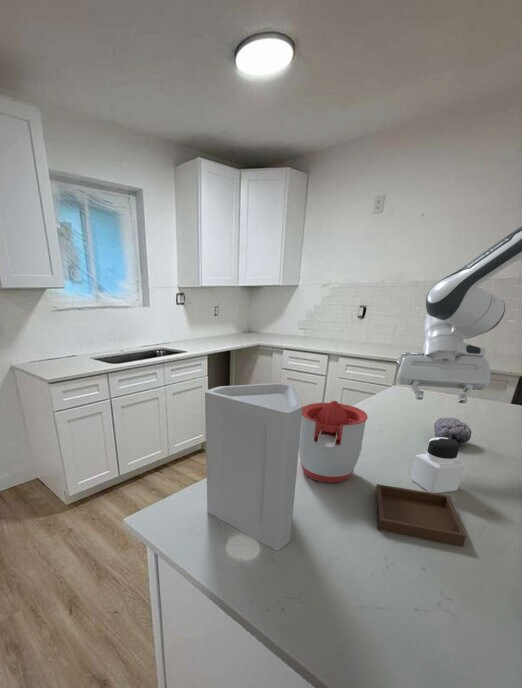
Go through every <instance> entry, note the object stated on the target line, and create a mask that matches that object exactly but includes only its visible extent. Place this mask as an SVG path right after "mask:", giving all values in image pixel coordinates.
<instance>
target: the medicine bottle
mask: <svg viewBox="0 0 522 688" xmlns="http://www.w3.org/2000/svg"><path fill="white" fill-rule="evenodd" d="M460 445H461V444H458V443H457V442H456V441H454V440H452V439H449V438H444V437H436V438H435V437H431V439H429V440H428V444H427V448H426V453H417V454H416V455H415V459H414V463H413V468H412V472H411V476H410V480H411V481H413V482H414V483H415V484H417V485H418V486H420V487H421V488H423V489H424V490H425V491H426V492H430V493H436V494H442V493H448V492H449V493H451V492H455V491H458V490H459V486H460V483H461V480H462V478H463V477H462V476H463V474H464V469H465V463H463V462H462V461H459V460H457V458H458V454H459V451H460V448H461V446H460Z"/></svg>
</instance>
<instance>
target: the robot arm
mask: <svg viewBox="0 0 522 688" xmlns="http://www.w3.org/2000/svg"><path fill="white" fill-rule="evenodd" d="M521 260H522V225H521V226H519V227H518V228H516V229H515V230H513V231H512V232H511V233H509V234H507V235H506V236H505V237H503V238H502V239H501V240H499V241H497V242H496V243H495V244H493V245H492V246H491V247H488V249H486V250H485V251H484V252H482V253H481V254H479V255H478V256H476V257H475V258H474V259H472V260H471V261H470V262H468V263H467V264H466V265H464V266H463V267H461V268H459V269H458V270H456V271H454V272H453V273H450V274H448V275H447V276H445V277H443V278H442V279H440V280H439V281H437V282H435V284H433V286H431V288H430V289H429V290H428V292H427V294H426V297H425V309H426V316H425V320H424V329H423V335H424V342H423V345H422V353H421V352H404V353H402V354H400V355H398V357H397V365H398V367H399V368H398V372H397V377H396V382H397V383H398V384H399V385H400V386H401V385H402V386H410V387H411V390H412V392H413V393H414V394H415V397H414V398H415V400H420V401H422V400H423V399H424V394H425V393H424V392H425V391H424V390H420V388H419V387H428V388H429V387H430V388H445V389H458V390H463V393H460V394H459V395H458V397H457V403H458V404H467V402H468V396H469V395H470V393H471V392H472V390H473V391H474V390H475V391H483V390H484V389H485V388H487V387H488V386H489V385H490V383H491V381H492V375H491V374H492V373H491V368H490V364H489V361H488V359H486V358H485V356H486V354H487V353H486V351H487V350H486V349H485V348H484V347H481V346H477V345H473V344H470V343H467V342H464V340H468V339H472V338H475V337H477V336H480V335H483V334H485V333H488V332H489V331H491V330H493V329H494V328H496V327H497V326H498V325H499V324H500V322H501V321H502V320H503V318H504V315H505V312H506V303H505V301H504V300H503V299H502V298H500V297H498V296H497V295H495V294H493V293H491V292H490V291H487V290H485V289H483V288H482V287H480V285H481V284H483V283H484V282H486V281H487V280H489V279H490V278H492V277H494V276H495V275H496V274H498V273H500V272H501V271H503V270H504V269H506V268H507V267H509V266H510V265H513V264H514V263H516V262H519V261H521Z"/></svg>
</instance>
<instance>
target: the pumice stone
mask: <svg viewBox="0 0 522 688" xmlns="http://www.w3.org/2000/svg"><path fill="white" fill-rule="evenodd" d="M433 428H434V438H436V437H444V438H449V439H452V440H454V441H456V442H457V443H458V444H459V445H463V444H466V443H468V442H469V441H470V440H471V437H472V429H471V428H470V426H469V425H468V424H467V423H466V422H464V421H461V420H460V419H459V418H456V417H439V418H438V419H437V420H436V421H435V422H434V424H433Z"/></svg>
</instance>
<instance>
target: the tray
mask: <svg viewBox="0 0 522 688" xmlns="http://www.w3.org/2000/svg"><path fill="white" fill-rule="evenodd" d="M374 498H375V499H374V500H375V511H376V512H375V513H376V523H377V525H376V526H377V531H380V532H384V533H385V532H386V533H388V534H389V533H390V534H395V535H400V536H405V537H408V538H409V537H410V538H414V539H420V540H424V541H430V542H434V543H441V544H445V545H450V546H456V547H459V548H460V547H461V548H464V545H465V542H466V540H467V534H466V532H465V529H464V527H463V524H462V522H461V520H460V517H459V514H458V512H457V510H456V508H455V505H454V503H453V500H452V498H451V496H450V495H448V494H442V493H430V492H428V491H423V490H417V489H410V488H403V487H398V486H391V485H384V484H378V483H376V486H375V492H374Z"/></svg>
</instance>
